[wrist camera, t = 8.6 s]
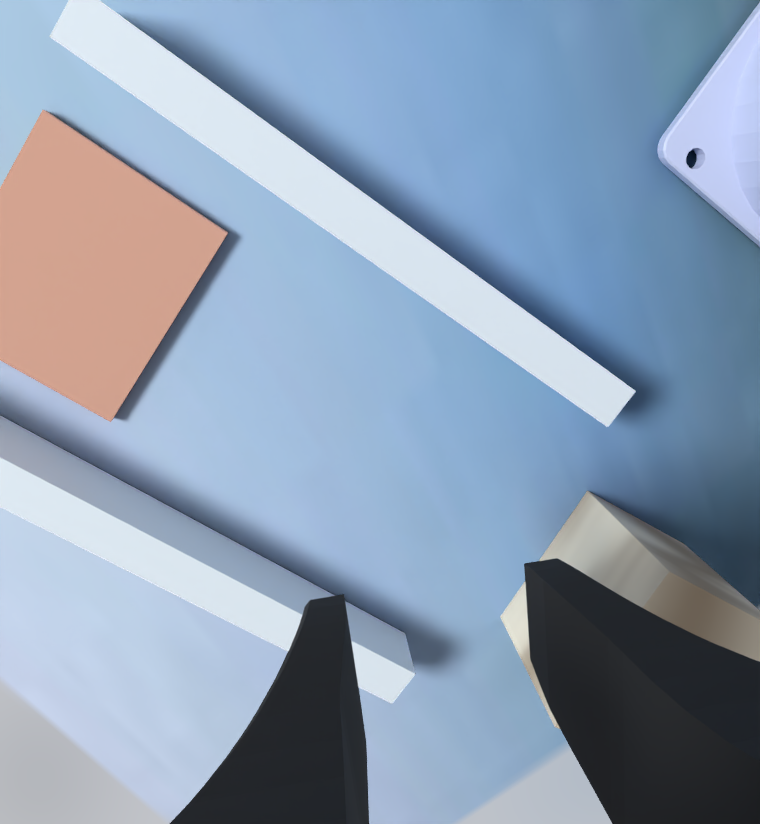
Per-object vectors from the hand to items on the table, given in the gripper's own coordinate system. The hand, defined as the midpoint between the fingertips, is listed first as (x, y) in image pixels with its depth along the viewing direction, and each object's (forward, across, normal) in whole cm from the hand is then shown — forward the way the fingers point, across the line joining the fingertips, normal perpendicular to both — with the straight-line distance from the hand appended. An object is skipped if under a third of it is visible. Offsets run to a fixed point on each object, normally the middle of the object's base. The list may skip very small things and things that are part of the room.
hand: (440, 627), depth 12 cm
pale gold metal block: (+8, -6, +5) cm, 12 cm away
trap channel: (+8, +3, -3) cm, 9 cm away
